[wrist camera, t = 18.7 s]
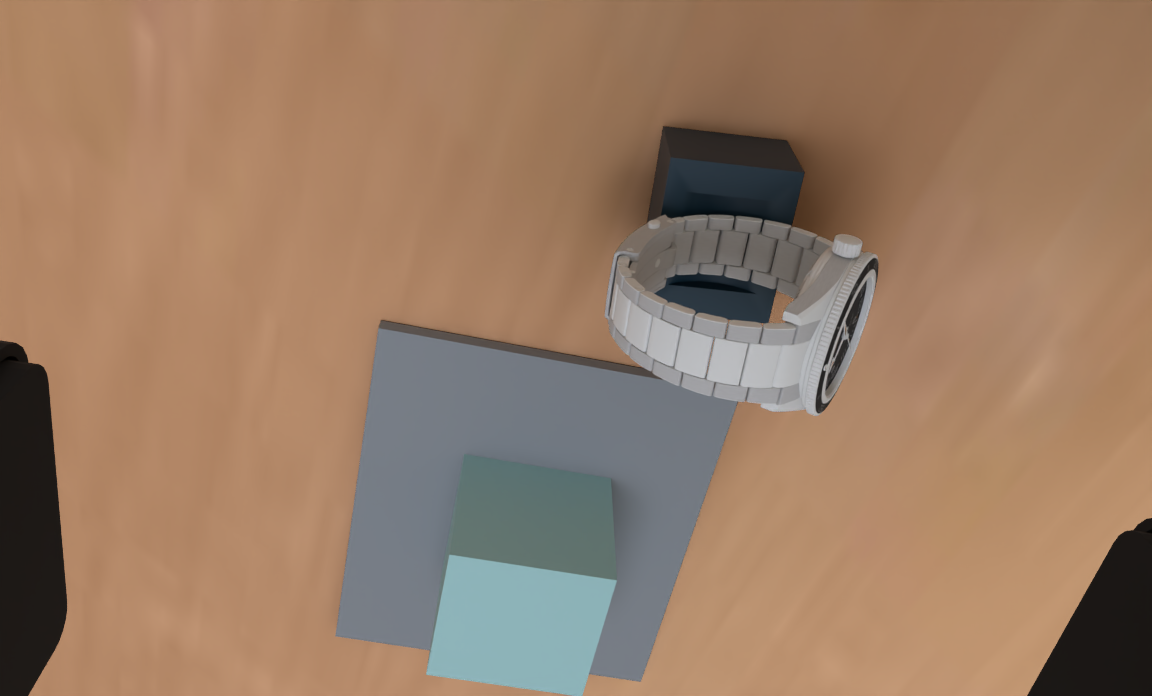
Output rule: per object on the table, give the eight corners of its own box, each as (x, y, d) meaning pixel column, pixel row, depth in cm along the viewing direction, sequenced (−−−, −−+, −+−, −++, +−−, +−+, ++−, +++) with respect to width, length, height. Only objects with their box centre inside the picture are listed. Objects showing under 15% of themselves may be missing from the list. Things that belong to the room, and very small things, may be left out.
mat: (738, 386, 41) (740, 394, 41) (639, 671, 49) (640, 681, 48) (380, 320, 39) (378, 328, 39) (338, 626, 47) (335, 636, 47)
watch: (806, 289, 39) (883, 465, 29) (591, 266, 38) (598, 437, 29) (843, 144, 36) (941, 287, 27) (612, 117, 36) (628, 253, 26)
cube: (611, 478, 42) (616, 580, 37) (580, 587, 45) (582, 696, 40) (464, 454, 42) (449, 554, 37) (442, 566, 45) (426, 674, 40)
